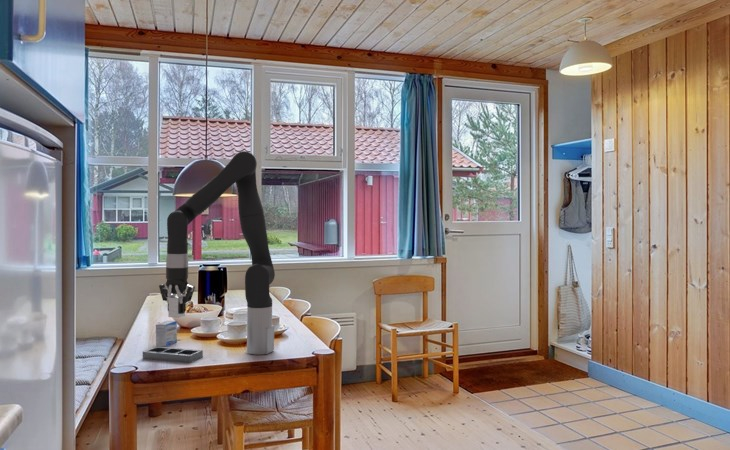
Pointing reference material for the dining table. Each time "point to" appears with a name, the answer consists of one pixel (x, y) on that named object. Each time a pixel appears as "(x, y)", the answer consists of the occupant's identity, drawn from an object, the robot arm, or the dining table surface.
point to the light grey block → (174, 307)
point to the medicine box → (166, 333)
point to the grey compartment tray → (173, 354)
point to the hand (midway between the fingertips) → (176, 312)
